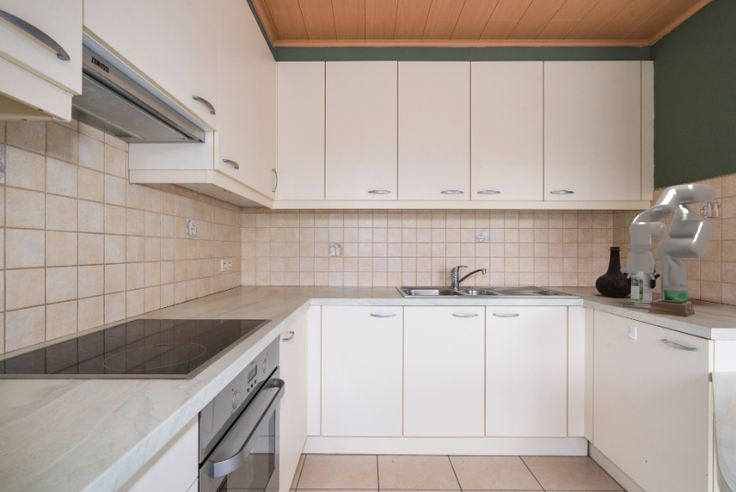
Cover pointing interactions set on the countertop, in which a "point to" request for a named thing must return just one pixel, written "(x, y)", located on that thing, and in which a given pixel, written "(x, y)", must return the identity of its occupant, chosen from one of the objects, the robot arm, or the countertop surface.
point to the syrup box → (641, 288)
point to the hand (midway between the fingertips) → (641, 287)
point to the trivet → (637, 305)
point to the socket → (671, 308)
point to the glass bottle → (613, 278)
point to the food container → (676, 293)
